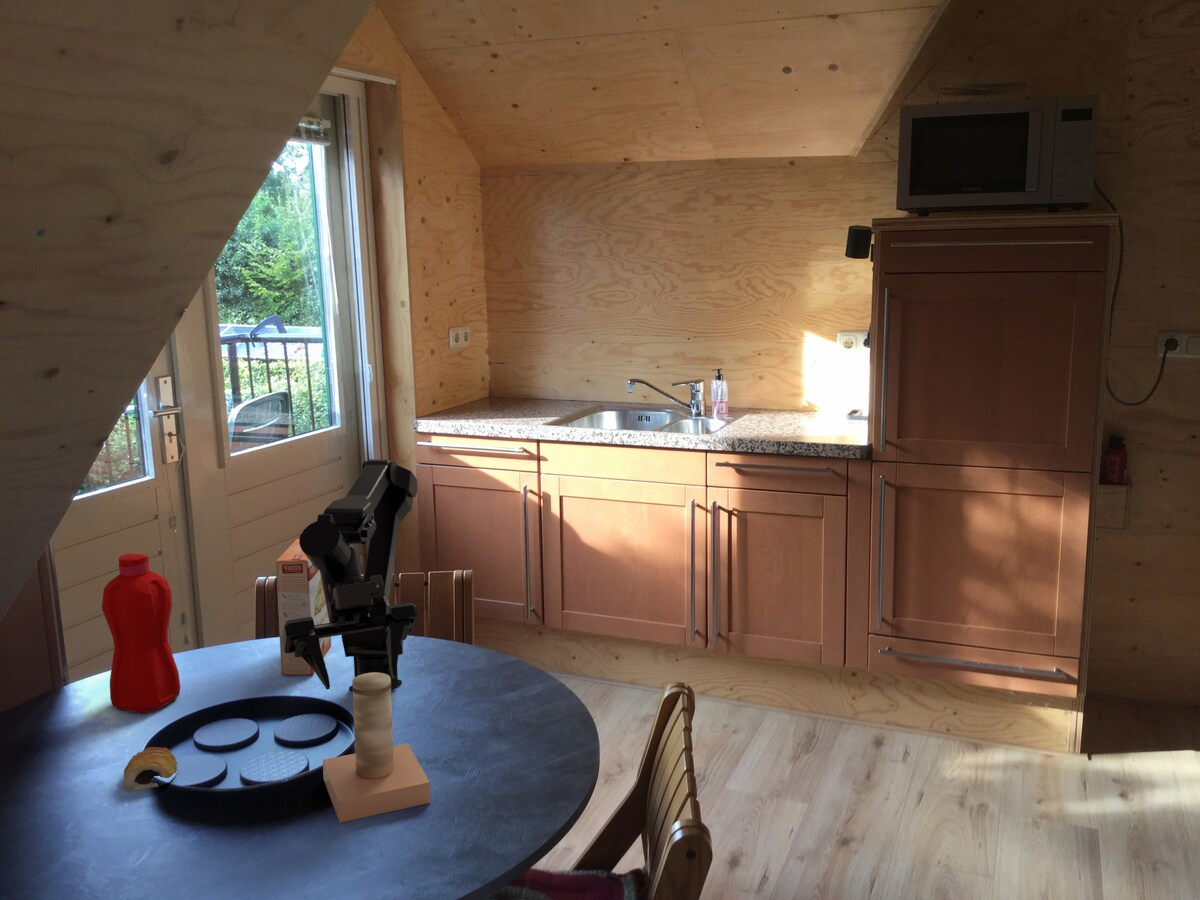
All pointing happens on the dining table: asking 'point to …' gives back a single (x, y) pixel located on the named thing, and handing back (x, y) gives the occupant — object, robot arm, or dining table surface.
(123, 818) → the dining table surface
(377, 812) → the terracotta plinth
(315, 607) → the cracker box
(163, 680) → the red bottle
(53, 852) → the dining table surface
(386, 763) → the birch column
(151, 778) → the pastry
